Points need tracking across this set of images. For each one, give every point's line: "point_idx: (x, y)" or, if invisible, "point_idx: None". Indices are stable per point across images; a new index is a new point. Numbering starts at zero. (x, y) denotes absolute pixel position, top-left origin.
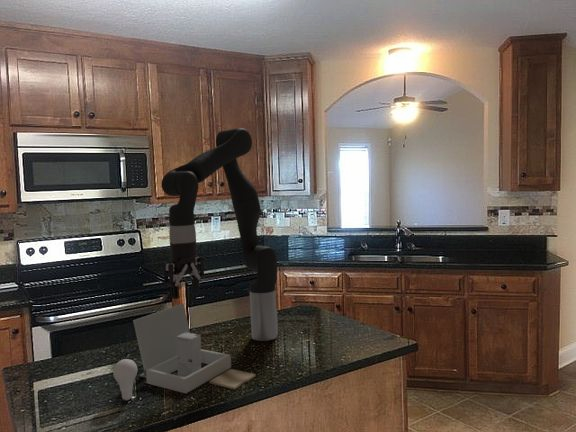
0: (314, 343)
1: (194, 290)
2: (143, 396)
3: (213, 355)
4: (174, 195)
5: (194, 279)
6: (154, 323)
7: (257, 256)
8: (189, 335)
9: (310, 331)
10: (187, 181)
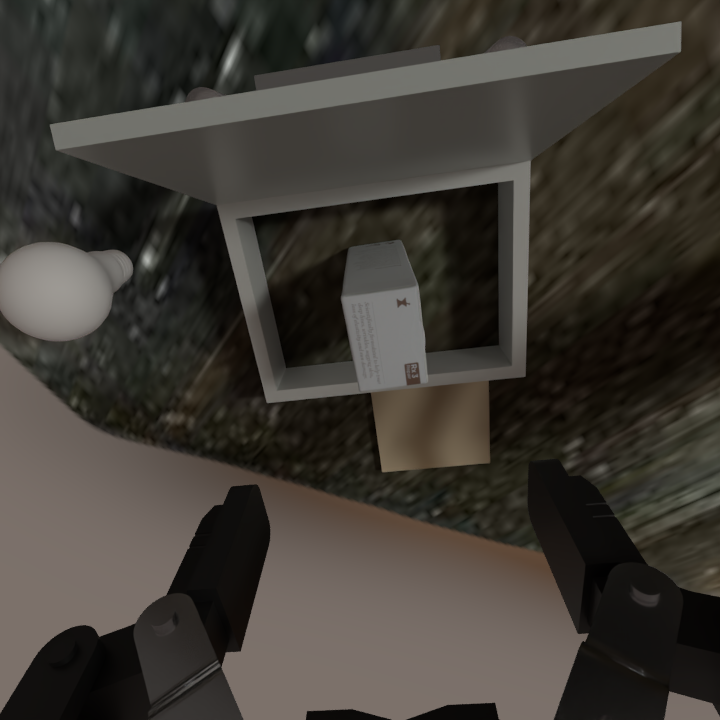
0: None
1: (534, 493)
2: (174, 285)
3: (509, 300)
4: None
5: (594, 603)
6: (270, 144)
7: None
8: (387, 347)
9: None
10: None
